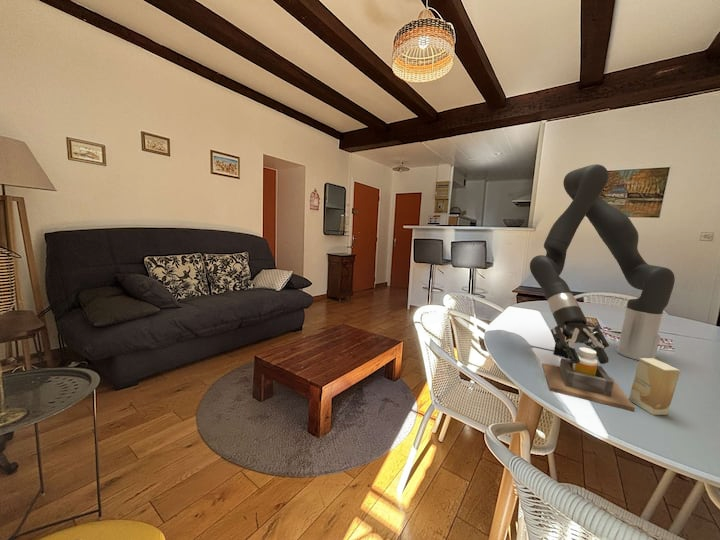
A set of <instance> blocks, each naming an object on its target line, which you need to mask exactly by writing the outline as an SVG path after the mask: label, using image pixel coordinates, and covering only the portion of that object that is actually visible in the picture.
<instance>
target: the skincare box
mask: <svg viewBox="0 0 720 540" xmlns="http://www.w3.org/2000/svg"><path fill="white" fill-rule="evenodd" d="M680 374H681V370H680V369H679V368H676V367H674V366H672V365H670V364H668V363H666V362H663V361H660V360H659V359H657V358H655V359H654V358H640V359H639V360H638V364H637V367H636V371H635V375H634V379H633V383H632V386H631V389H630V393H629V398H628V399H629V400H630V402H631V403H632V404H635V405H637V406H638V407H640V408H641V409H642V410H644V411H646V412H648V413H649V414H651V415H653V416H654V415H656V416H657V415H658V416H659V415H661V416H662V415H663V416H664V415H668V414H669V411H670V408H671V405H672V400H673V398H674V393H675V391H676V387H677V383H678V380H679V376H680Z"/></svg>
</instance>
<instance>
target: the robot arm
mask: <svg viewBox="0 0 720 540" xmlns="http://www.w3.org/2000/svg"><path fill="white" fill-rule="evenodd" d="M608 181H609V171H608V170H607V168H606V167H605V165H602V164H598V163H597V164H596V163H595V164H591V165H586V166H584V167H581V168H580V167H579V168H577V169H573V170H571V171H569V172H568V173H567V174H566V175H565V176H564V179H563V187H564V190H565V192H566V194H567V195H568V196H569V198H571V200H572V201H571V202H570V204H569V206H567V208H566V209H565V210H564V211H563V213H562V214H560V216H559V217H558V218H557V219H556V220H555V222H554V223H553V225H552V226H551V228H550V230H549V231H548V234H547V237H546V238H545V241H544V243H543V248H544V249H545V251H546V253H545V255H543V254H541V255H540V254H539V255H536V256H534V257H533V258H532V259H531V260H530V262H529V270H530V272H531V275H532V277H533V278H534V279H535V281H536V283H537V284H538V285H539V287H540V288H541V289H542V291H543V293H544V296H545V299H546V300H547V301H546V302H547V303H548V307H549V310H550V312H551V314H552V317H553V319H554V321H555V323H556V326H555V327H553V328H552V329H551V330H550V332H551V335H552V337H553V340H554V344H555V343H556V346H557V348H559V349H560V348H562V349H564V350H565V351H566V353H567V355H568V360H570V361H572V363H574V364H576V363H578V362H580V359H579V357H578V355H577V354H578V352H577V351H576V349H575V348H574V346H575V344H578V343H579V344H585V346H587V347H590V349H592V350H594V351H596V352H597V354H596V357H597V358H596V359H597V361H598V363H599V364H602V365H605V364H607V363H609V362H610V361H609V360H610V359H609V357H608V355H607V353H606V351H605V348H608V347H609V346H610V345H609V343H608V341H607V339H606V337H605V336H604V334H603V332H602V331H601V329H600V327H598V326H595V327H593V328H590V327H589V326H588V324H587V318H586V316H585V314H584V312H583V310H582V308H581V307H580V306H581V305H580V304H579V302H578V301H577V298H575V296H574V295H573V293H572V291H571V288H570V287H569V285H568V283H567V282H566V281H565V280H564V279H563V278H562V277H560V275H561V274H562V272H563V270H564V267H565V263H566V258H567V252H568V249H569V247H570V245H571V243H572V241H573V238H574V236H575V235H576V232H577V230H578V228H579V227H580V224H581V223H582V221H583V220H584V219H585V216H586V217H587V219H588V221H589V222H590V224H591V225H592V226H593V228H594V230H595V231H596V232H597V234H598V236H599V238H600V239H601V241H602V242H603V243H604V244H605V246H606V247H607V249H608V251H609V252H610V253H611V255H612V256H613V258H614V259H615V261H616V262H617V263H618V265H619V268H620V270H621V272H622V274H623V275H624V278H625V280H626V281H627V283H628V284H629V285H630V286H631V287H632V288H634V289H636V290H640V291H641V294H640V296H639V297H638V298H631V299H629V300H628V301H627V304H626V307H625V308H626V309H625V312H624V318H623V322H622V326H621V327H622V328H621V332H620V337H619V342H618V345H617V353H619V354H620V355H621V356H624V357H627V358H629V359H632V360H637V361H639V359H640V358H654V359H656V357H657V352H658V347H659V343H660V339H661V336H660V334H659V330H660V326H661V322H662V321H661V320H662V317H663V313H664V310H665V308H666V307H667V306H668V304H669V302H670V299H671V297H672V296H671V295H672V293H673V289H674V286H675V279H676V277H675V274H674V272H673V271H672V270H671V269H670V268H668V267H664V266H658V265H653V264H648V263H647V261H645V259H644V258H643V257H642V255H641V254H640V252H639V250H638V244H639V239H640V238H639V232H638V229H637V228H636V227H635V225H634V223H633V222H632V220H631V219H630V217H629V216H628V215H626V213H624V212H622V211H621V210H620V209H618V207H615V206H613V205H611V204H610V203H608V202H607V201H605V200H604V199H603V198H602V197H601V196H600V195H601V194H602V192H603V190H604V189H605V187H606V186H607V183H608ZM563 335H564V336H566V337H565V339H564V337H563ZM560 342H561V343H560Z"/></svg>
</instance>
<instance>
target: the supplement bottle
mask: <svg viewBox="0 0 720 540" xmlns="http://www.w3.org/2000/svg"><path fill="white" fill-rule="evenodd" d="M596 354H597V352H596V351H595V350H594V349H592V348H589V347H585V346H584V347H583V346H579V348H578V351H577V355H578V357H579V359H580V362H578V363H576V364H574V363H573V366H572V370H573V372H577V373H582V374H586V375H591V376H595V375H596V370H597V366H599V365H598V364H599V360H598V359H597V358H596V357H597V356H596Z"/></svg>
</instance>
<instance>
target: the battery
mask: <svg viewBox="0 0 720 540" xmlns="http://www.w3.org/2000/svg"><path fill="white" fill-rule="evenodd" d="M563 337H564V339H565V337H566V336H564V335H563ZM560 343H561V342H560ZM553 355H555V356H558V355H559V357H561V356H562V357H563V358H564V359H569V357H568V355H567V353H566V351H565V350H564V349H562V348H560V349H559V348H557V346H556V343H555V342H554V349H553ZM562 357H561V358H562Z"/></svg>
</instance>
